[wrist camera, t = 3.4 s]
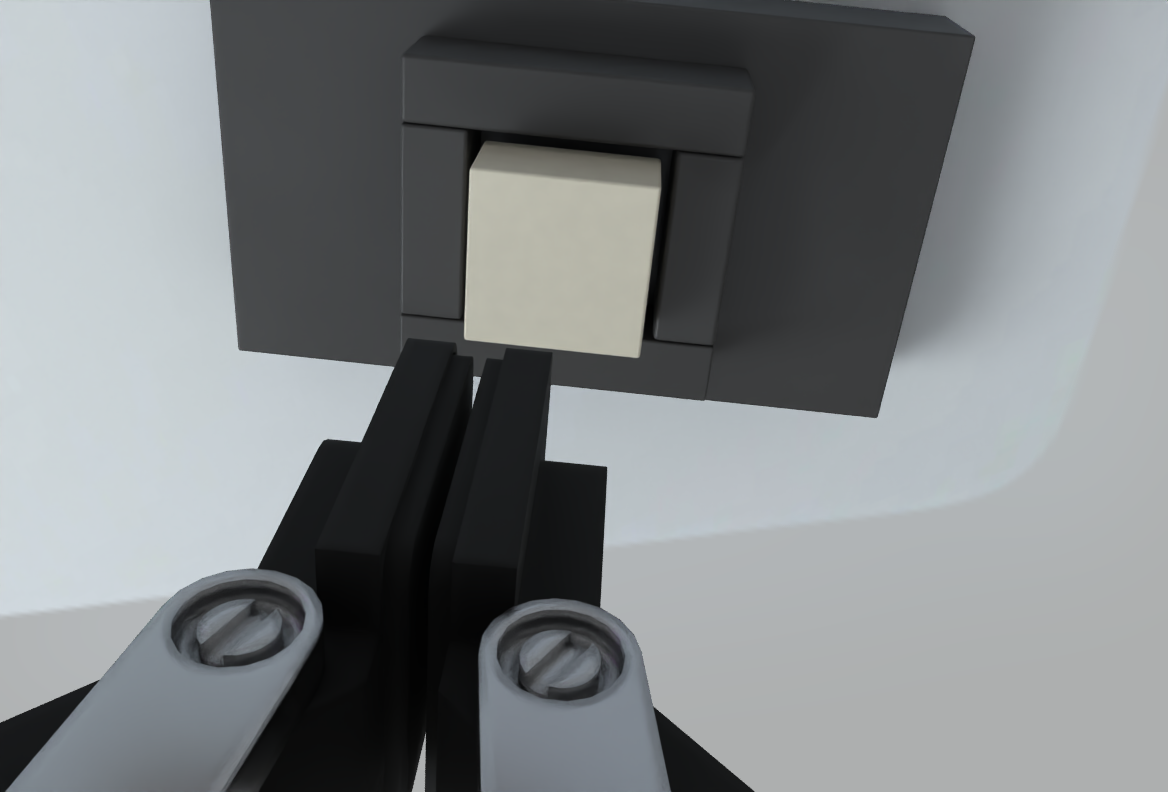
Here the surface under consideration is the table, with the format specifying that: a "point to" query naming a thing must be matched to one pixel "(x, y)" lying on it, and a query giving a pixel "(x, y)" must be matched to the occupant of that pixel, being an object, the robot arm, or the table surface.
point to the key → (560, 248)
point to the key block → (598, 124)
